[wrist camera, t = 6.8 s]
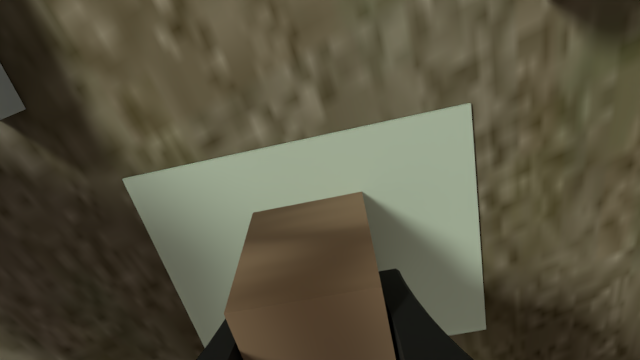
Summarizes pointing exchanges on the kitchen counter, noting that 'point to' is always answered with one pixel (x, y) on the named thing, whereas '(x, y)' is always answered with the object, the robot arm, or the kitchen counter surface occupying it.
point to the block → (310, 285)
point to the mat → (325, 182)
